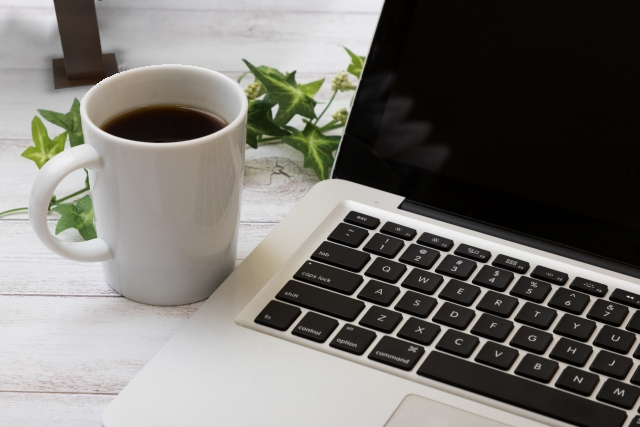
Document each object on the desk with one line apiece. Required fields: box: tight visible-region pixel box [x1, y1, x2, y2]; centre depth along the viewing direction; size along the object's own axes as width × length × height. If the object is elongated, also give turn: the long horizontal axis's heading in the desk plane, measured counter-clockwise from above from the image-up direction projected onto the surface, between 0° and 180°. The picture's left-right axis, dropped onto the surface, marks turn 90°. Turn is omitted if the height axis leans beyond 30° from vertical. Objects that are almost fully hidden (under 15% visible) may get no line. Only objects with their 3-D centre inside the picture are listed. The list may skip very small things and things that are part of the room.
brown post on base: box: [51, 0, 120, 90], centre depth 80 cm, size 14×7×18 cm, turn 17°
